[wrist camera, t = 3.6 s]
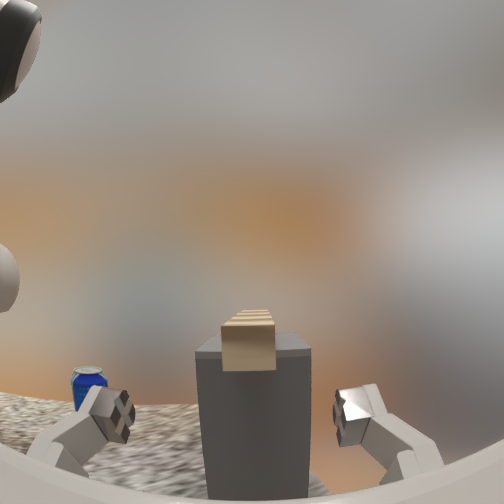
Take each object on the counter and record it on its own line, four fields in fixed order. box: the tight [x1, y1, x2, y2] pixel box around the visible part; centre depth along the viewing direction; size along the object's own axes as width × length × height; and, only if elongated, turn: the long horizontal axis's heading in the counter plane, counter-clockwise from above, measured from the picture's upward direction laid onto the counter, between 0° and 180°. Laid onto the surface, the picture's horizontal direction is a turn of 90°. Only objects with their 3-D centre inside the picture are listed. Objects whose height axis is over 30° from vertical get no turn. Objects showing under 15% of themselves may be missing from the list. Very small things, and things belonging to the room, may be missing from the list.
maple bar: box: [221, 310, 276, 371], centre depth 34 cm, size 24×4×4 cm, turn 178°
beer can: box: [71, 366, 108, 412], centre depth 53 cm, size 8×8×16 cm
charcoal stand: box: [195, 332, 311, 501], centre depth 35 cm, size 14×12×26 cm
